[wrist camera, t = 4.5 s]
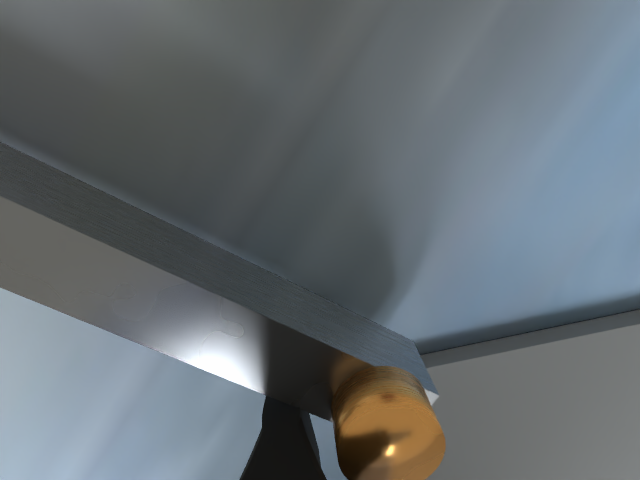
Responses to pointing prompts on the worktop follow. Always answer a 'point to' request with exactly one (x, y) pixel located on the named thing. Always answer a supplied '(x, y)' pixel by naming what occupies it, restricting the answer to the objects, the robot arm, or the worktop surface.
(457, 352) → the pad
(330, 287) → the worktop surface
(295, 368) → the grey long bar
